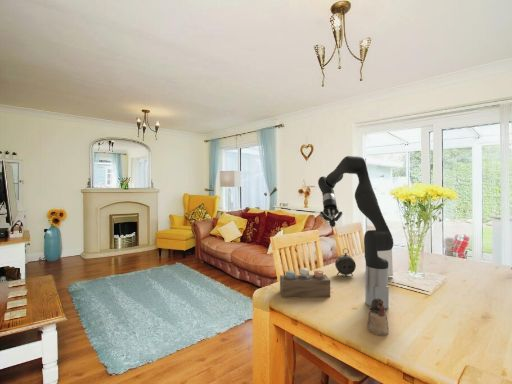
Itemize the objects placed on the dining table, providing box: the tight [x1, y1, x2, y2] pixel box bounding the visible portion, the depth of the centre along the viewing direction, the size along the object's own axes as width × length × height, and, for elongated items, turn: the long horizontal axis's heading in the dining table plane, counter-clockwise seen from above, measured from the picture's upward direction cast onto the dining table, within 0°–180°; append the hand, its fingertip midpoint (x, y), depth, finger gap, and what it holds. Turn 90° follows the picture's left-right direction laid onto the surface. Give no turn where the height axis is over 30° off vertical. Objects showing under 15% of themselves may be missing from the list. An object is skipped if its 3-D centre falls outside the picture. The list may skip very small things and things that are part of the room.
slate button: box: [285, 270, 296, 279], centre depth 132 cm, size 4×4×2 cm
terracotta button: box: [313, 269, 324, 278], centre depth 133 cm, size 4×4×2 cm
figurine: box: [366, 298, 389, 336], centre depth 99 cm, size 7×7×12 cm
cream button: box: [299, 267, 310, 276], centre depth 132 cm, size 4×4×2 cm
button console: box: [279, 274, 331, 298], centre depth 132 cm, size 8×23×8 cm, turn 93°
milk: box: [377, 248, 394, 277], centre depth 161 cm, size 12×12×26 cm
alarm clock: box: [334, 247, 357, 278], centre depth 158 cm, size 11×5×16 cm, turn 84°
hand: (332, 226), depth 149 cm, fingers closed
